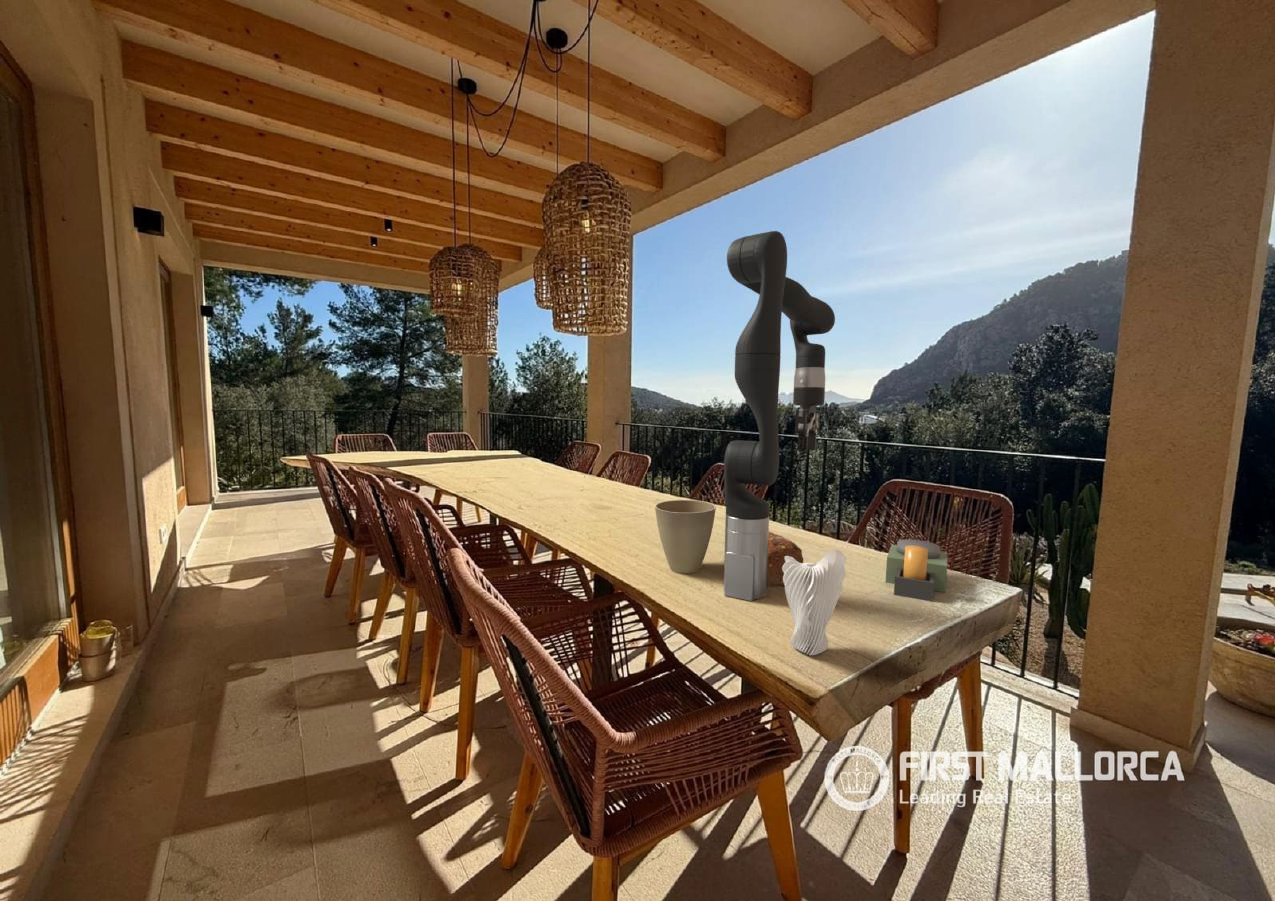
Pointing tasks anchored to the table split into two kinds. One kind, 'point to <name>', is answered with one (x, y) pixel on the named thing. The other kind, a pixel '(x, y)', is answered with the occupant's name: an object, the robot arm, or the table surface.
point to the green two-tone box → (914, 586)
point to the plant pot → (685, 532)
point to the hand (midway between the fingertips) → (806, 450)
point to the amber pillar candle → (915, 562)
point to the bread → (780, 557)
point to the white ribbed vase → (813, 598)
